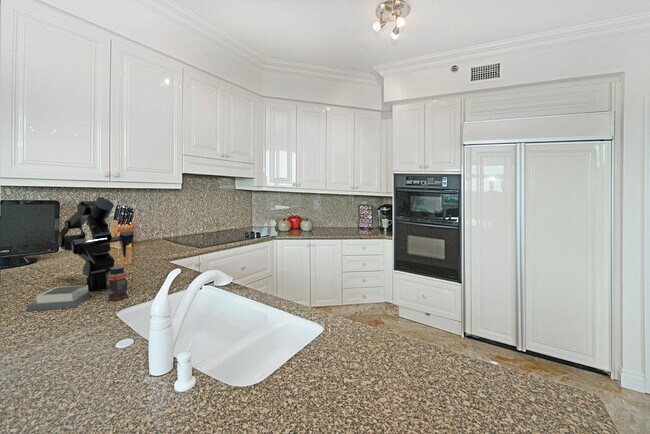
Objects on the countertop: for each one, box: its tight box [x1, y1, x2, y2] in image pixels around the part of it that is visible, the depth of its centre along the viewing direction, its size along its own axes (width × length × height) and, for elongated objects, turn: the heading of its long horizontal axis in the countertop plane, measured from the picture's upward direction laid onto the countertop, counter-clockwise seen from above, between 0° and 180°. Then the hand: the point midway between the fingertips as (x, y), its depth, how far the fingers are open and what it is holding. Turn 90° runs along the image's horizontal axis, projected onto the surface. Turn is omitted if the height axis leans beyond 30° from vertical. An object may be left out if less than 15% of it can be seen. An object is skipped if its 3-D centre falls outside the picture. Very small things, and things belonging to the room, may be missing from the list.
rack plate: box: [26, 284, 92, 312], centre depth 104 cm, size 13×11×4 cm
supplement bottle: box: [107, 265, 129, 301], centre depth 109 cm, size 6×6×11 cm
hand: (110, 259), depth 111 cm, fingers open, 9 cm apart
